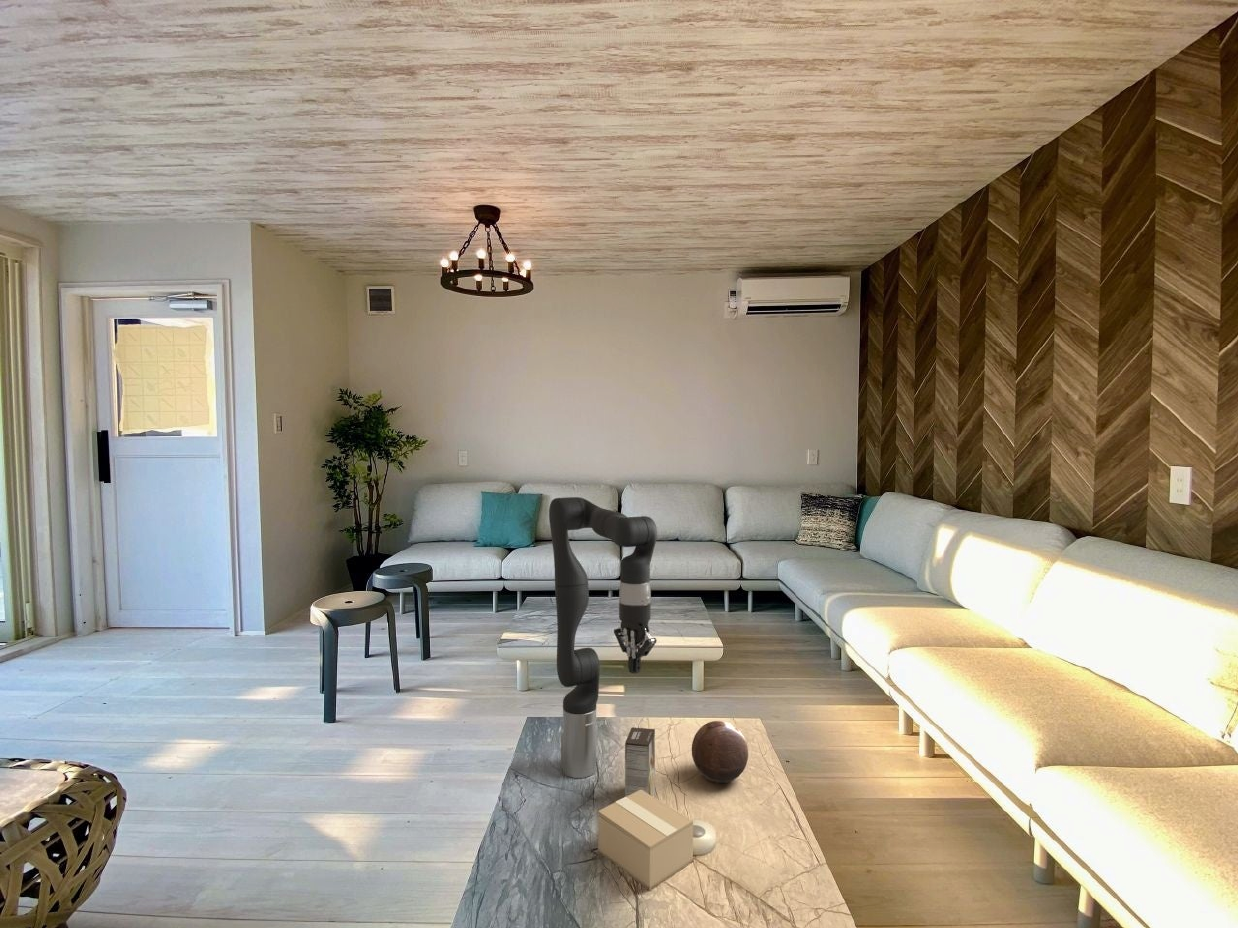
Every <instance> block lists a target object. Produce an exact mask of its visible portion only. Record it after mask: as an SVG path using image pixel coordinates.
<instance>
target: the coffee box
mask: <svg viewBox="0 0 1238 928" xmlns="http://www.w3.org/2000/svg"><path fill="white" fill-rule="evenodd" d="M629 730H630V731H629V733H628V735H627V737H626V740H625V742H624V797H627V796H629V795H631V794H633V793H635V792H637V791H639V790H643V791H644V792H646V793H648V794H649V795H651V796H653V797H654V793H655V790H656V787H655V786H656V785H655V783H656V782H655V781H656V774H655V773H656V772H655V771H656V770H655V769H656V768H655V767H656V765H655V762H656V760H655V759H656V753H655V752H656V738H655V737H656V729H655V728H644V727H630V729H629Z"/></svg>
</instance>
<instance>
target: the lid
mask: <svg viewBox="0 0 1238 928" xmlns="http://www.w3.org/2000/svg"><path fill="white" fill-rule="evenodd" d="M597 814H598V815H600V816H601V817H603V818H604V819H605V820H607V821H608V822H610V823H611V824H612V825H614V826H615V827H617V828H618V829H620V830H621V831H622V832H624V833H625V834H627V835H628V836H630V837H631V838H632V839H634V840H635V841H637V842H638V843H639V844H641V845H642V846H644V847H645V848H647V849H648V850H649V851H651V850H652V849H654V848H656V847H657V846H659V845H661V844H662V843H664V842H666V841H667V840H669V839H670V838H672V837H674V836H675V835H677V834H679V833H680V832H682V831H684V830H685V829H687V828H689V827H690V826H692V825H693V821H692V820H693V819H690V818H689V817H687V816H686V815H684V814H682V813H680V812H679V811H677V810H676V809H674V808H672V807H671V806H669V805H668V804H666V803H664V802H663V801H661V800H659V799H658V798H656V797H655V796H654V795H653V796H651V795H649V794H648V793H646V792H644V791H643V790H639V791H637V792H635V793H633V794H631V795H629V796H627V797H625V796H624V797H622V798H620V799H618V800H616V801H615V802H613V803H611V804H609V805H608V806H605V807H604V808H602V809H599V810H598V813H597Z"/></svg>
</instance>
